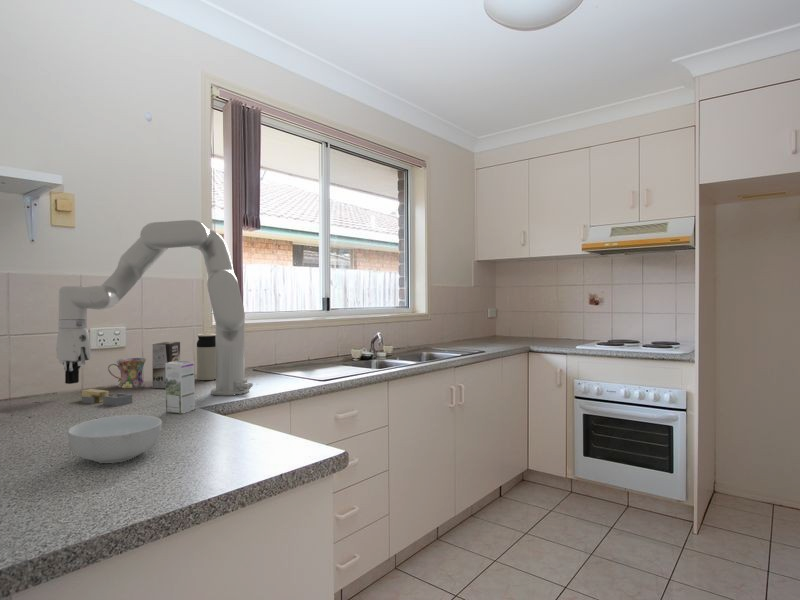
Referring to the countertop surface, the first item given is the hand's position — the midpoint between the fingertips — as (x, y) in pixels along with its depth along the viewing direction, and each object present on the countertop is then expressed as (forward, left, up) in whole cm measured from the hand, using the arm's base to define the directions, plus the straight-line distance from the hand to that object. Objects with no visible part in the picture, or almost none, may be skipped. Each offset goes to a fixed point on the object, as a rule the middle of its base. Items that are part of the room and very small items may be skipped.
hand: (71, 382), depth 155 cm
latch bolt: (-10, 0, -5) cm, 11 cm away
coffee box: (-5, -31, -6) cm, 32 cm away
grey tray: (-16, 0, -6) cm, 17 cm away
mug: (+3, -21, -6) cm, 22 cm away
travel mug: (-8, -48, -6) cm, 49 cm away
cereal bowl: (-61, +31, -6) cm, 69 cm away
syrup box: (-41, -4, -6) cm, 42 cm away
